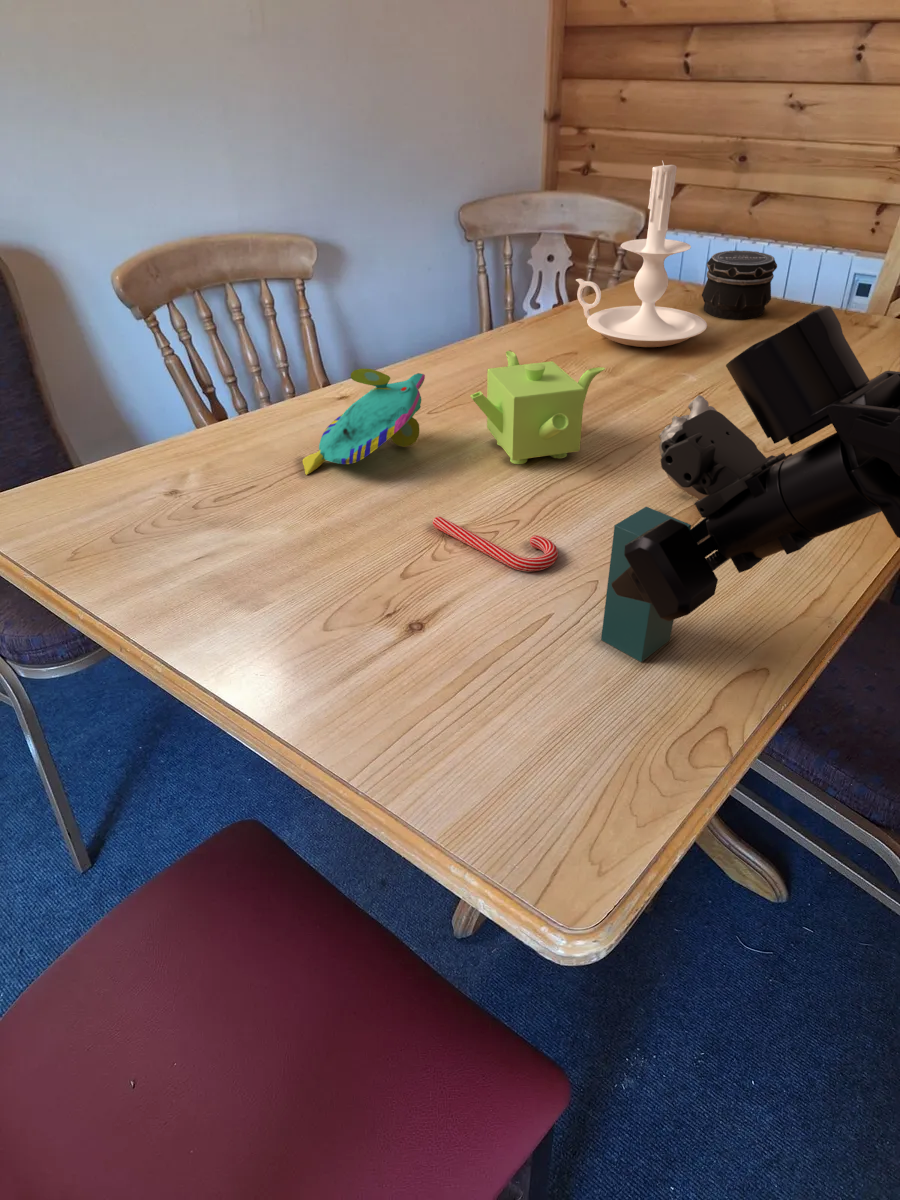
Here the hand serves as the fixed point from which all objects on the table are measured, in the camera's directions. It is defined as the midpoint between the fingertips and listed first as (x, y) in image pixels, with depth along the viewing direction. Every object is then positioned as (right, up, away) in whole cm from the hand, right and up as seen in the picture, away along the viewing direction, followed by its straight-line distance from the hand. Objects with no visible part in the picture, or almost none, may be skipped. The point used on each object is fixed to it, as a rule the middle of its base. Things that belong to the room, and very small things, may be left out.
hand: (648, 566), depth 65 cm
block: (0, -6, +5) cm, 8 cm away
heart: (+12, +9, +25) cm, 29 cm away
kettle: (-5, +17, +38) cm, 42 cm away
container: (+39, +53, +86) cm, 109 cm away
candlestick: (+16, +44, +74) cm, 88 cm away
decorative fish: (-27, +16, +37) cm, 48 cm away
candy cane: (-12, +3, +19) cm, 22 cm away
